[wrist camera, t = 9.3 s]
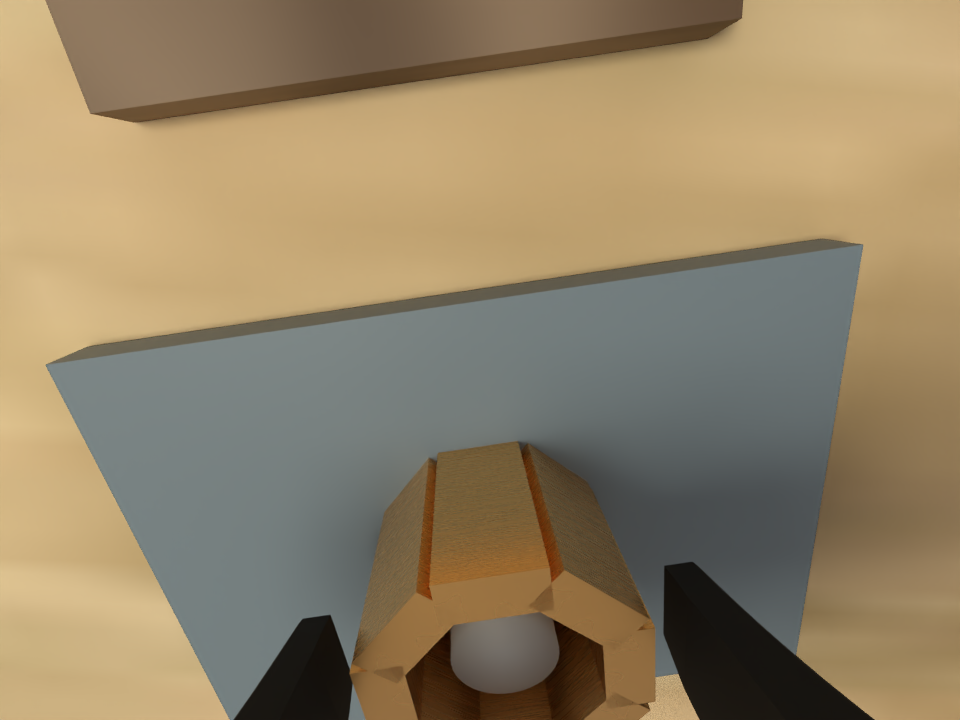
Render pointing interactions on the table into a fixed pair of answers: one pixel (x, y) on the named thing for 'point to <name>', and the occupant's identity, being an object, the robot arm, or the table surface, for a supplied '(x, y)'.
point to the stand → (339, 44)
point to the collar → (501, 593)
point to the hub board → (478, 442)
